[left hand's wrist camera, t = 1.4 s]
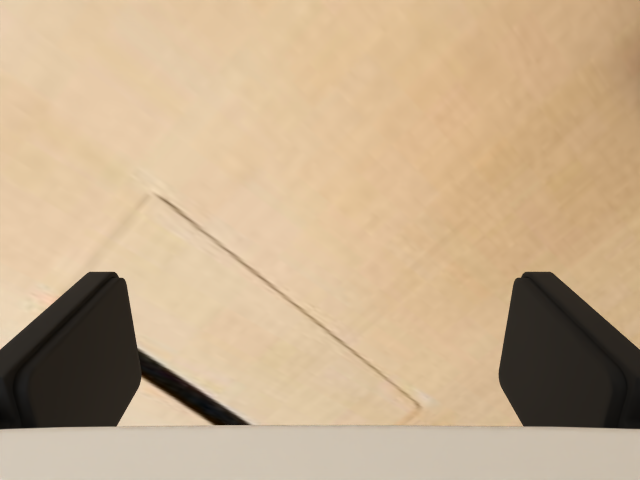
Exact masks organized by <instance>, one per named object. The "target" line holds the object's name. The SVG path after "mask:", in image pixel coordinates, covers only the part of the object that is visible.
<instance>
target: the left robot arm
mask: <svg viewBox="0 0 640 480" xmlns="http://www.w3.org/2000/svg"><path fill="white" fill-rule="evenodd" d="M140 382H141V367H140V362H139V356H138V350H137V344H136V338H135V332H134V326H133V320H132V314H131V308H130V302H129V296H128V290H127V285H126V281H125V279H123V278H119V277H118V275H117V274H116V273H115V272H89V273H87V274H86V275H85V276H84V277H82V278H81V279H80V280H79V281H78V282H77V283H76V284H74V285H73V286H72V287H71V288H70V289H69V290H68V291H67V292H65V293H64V294H63V295H62V296H61V297H60V298H59V299H57V300H56V301H55V302H54V303H53V304H52V305H51V306H49V307H48V308H47V309H46V310H45V311H44V312H43V313H41V314H40V315H39V316H38V317H37V318H36V319H35V320H34V321H32V322H31V323H30V324H29V325H28V326H27V327H26V328H24V329H23V330H22V331H21V332H20V333H19V334H18V335H16V336H15V337H14V338H13V339H12V340H11V341H10V342H9V343H7V344H6V345H5V346H4V347H3V348H2V349H1V350H0V480H640V350H639V349H638V348H637V347H636V346H635V345H634V344H633V343H631V342H630V341H629V340H628V339H627V338H626V337H625V336H624V335H622V334H621V333H620V332H619V331H618V330H617V329H616V328H614V327H613V326H612V325H611V324H610V323H609V322H608V321H606V320H605V319H604V318H603V317H602V316H601V315H600V314H599V313H597V312H596V311H595V310H594V309H593V308H592V307H591V306H589V305H588V304H587V303H586V302H585V301H584V300H583V299H581V298H580V297H579V296H578V295H577V294H576V293H575V292H573V291H572V290H571V289H570V288H569V287H568V286H567V285H566V284H564V283H563V282H562V281H561V280H560V279H559V278H558V277H556V276H555V275H554V274H553V273H551V272H525V273H524V274H523V275H522V277H521V278H517V279H515V281H514V285H513V290H512V296H511V302H510V308H509V314H508V320H507V326H506V332H505V338H504V344H503V350H502V356H501V362H500V367H499V382H500V385H501V387H502V389H503V391H504V393H505V395H506V396H507V398H508V400H509V402H510V403H511V405H512V407H513V409H514V410H515V412H516V414H517V416H518V417H519V419H520V421H521V423H522V424H523V426H524V427H517V426H404V425H218V426H128V427H116V426H117V424H118V423H119V421H120V419H121V417H122V416H123V414H124V412H125V410H126V409H127V407H128V405H129V403H130V402H131V400H132V398H133V396H134V395H135V393H136V391H137V389H138V387H139V385H140Z"/></svg>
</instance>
